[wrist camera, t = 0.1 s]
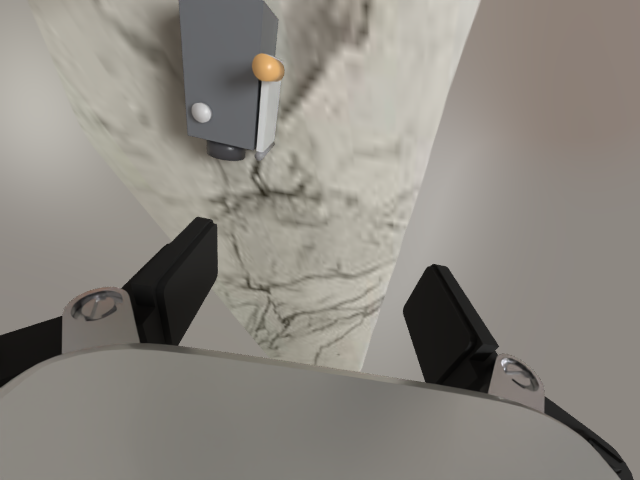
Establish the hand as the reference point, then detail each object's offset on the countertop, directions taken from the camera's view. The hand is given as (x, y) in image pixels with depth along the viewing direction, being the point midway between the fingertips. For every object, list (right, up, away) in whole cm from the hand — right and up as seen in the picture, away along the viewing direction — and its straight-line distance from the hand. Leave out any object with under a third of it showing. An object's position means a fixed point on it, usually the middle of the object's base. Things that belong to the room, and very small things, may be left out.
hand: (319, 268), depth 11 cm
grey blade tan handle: (-6, +20, +24) cm, 32 cm away
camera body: (-11, +22, +23) cm, 34 cm away
